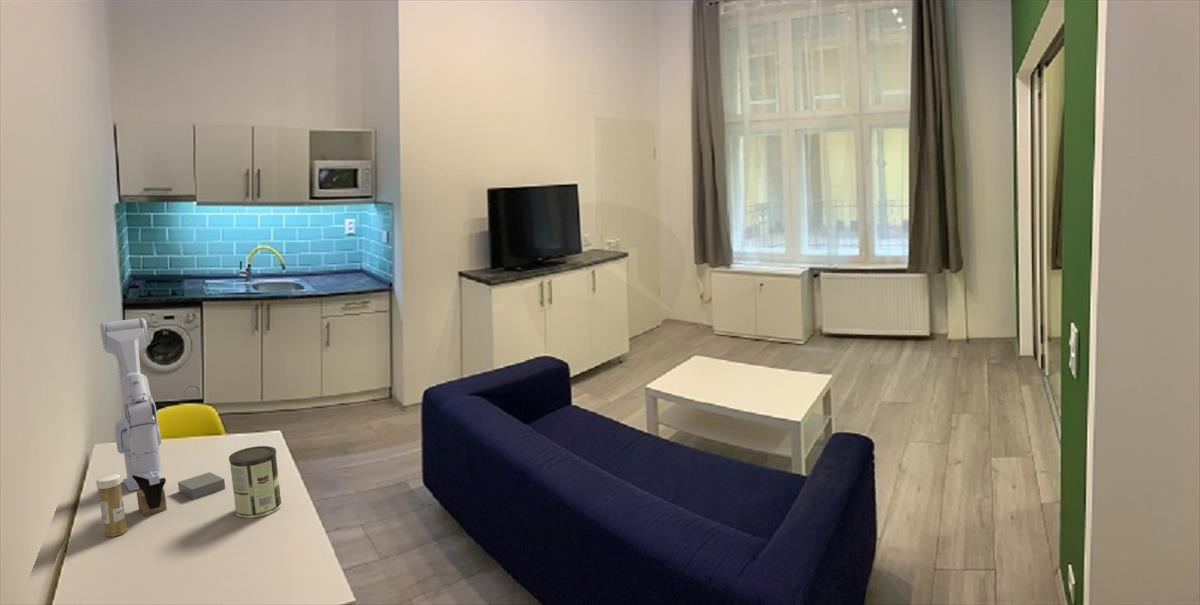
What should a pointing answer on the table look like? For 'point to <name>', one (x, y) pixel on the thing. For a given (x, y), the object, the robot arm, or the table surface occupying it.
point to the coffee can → (255, 481)
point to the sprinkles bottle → (111, 504)
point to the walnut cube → (144, 506)
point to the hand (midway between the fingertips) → (152, 504)
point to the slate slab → (201, 485)
